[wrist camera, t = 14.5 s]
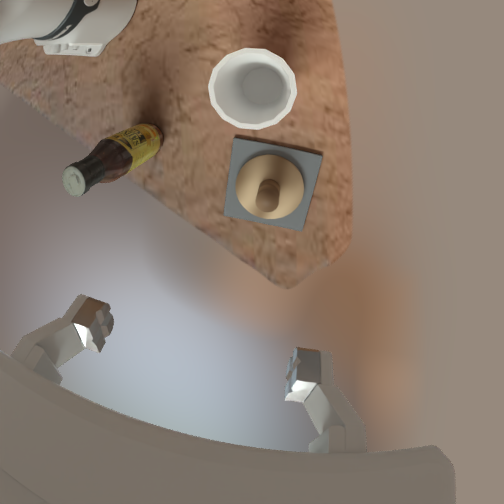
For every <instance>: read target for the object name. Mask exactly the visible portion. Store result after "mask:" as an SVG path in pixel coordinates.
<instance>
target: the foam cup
mask: <svg viewBox="0 0 504 504" xmlns="http://www.w3.org/2000/svg"><path fill="white" fill-rule="evenodd" d="M208 89H209V94H210V100H211V104H212V106H213V107H214V108H215V110H216V111H217V112H218V114H219V115H220V116H221V118H222V119H223V120H225V121H227V122H229V123H231V124H233V125H235V126H236V127H238V128H246V129H257V130H259V129H262V128H265V127H268V126H271V125H274V124H277V123H278V122H279V121H280V120H281V119H282V118H283V117H284V116H285V115H286V114H287V113H289V112H290V111H291V108H292V105H293V103H294V100H295V97H296V95H297V89H296V82H295V75H294V73H293V72H292V70H291V69H290V67H289V66H288V65H287V63H286V62H285V60H284V59H283V58H281V57H279V56H277V55H276V54H274V53H272V52H270V51H268V50H266V49H256V48H244V49H241V50H238V51H236V52H233V53H231V54H228V55H226V56H225V57H224V58H223V59H222V60H221V61H220V62H219V63H218V64H217V66H216V67H215V68H214V69H213V72H212V75H211V78H210V82H209V85H208Z"/></svg>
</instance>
